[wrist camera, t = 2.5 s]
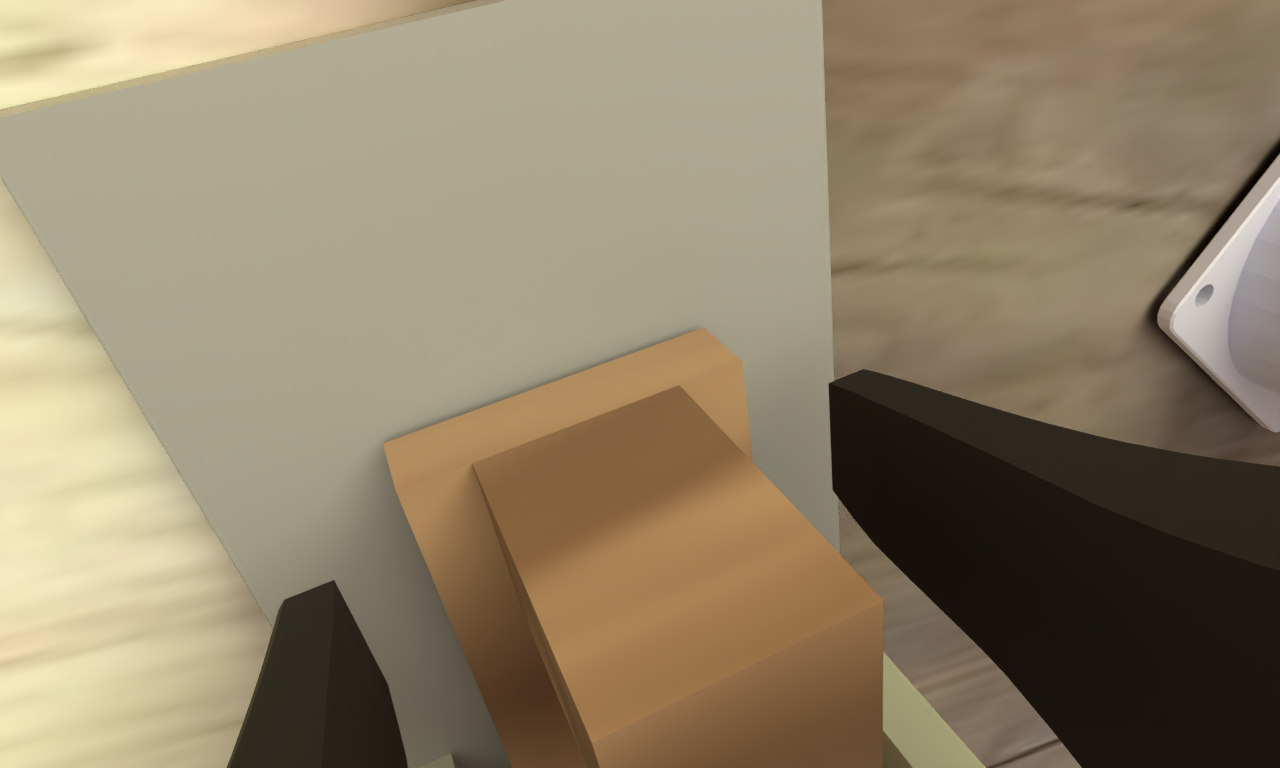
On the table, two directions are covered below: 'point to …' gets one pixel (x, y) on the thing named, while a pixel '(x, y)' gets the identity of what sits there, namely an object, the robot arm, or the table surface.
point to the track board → (439, 267)
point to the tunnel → (894, 730)
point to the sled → (643, 576)
